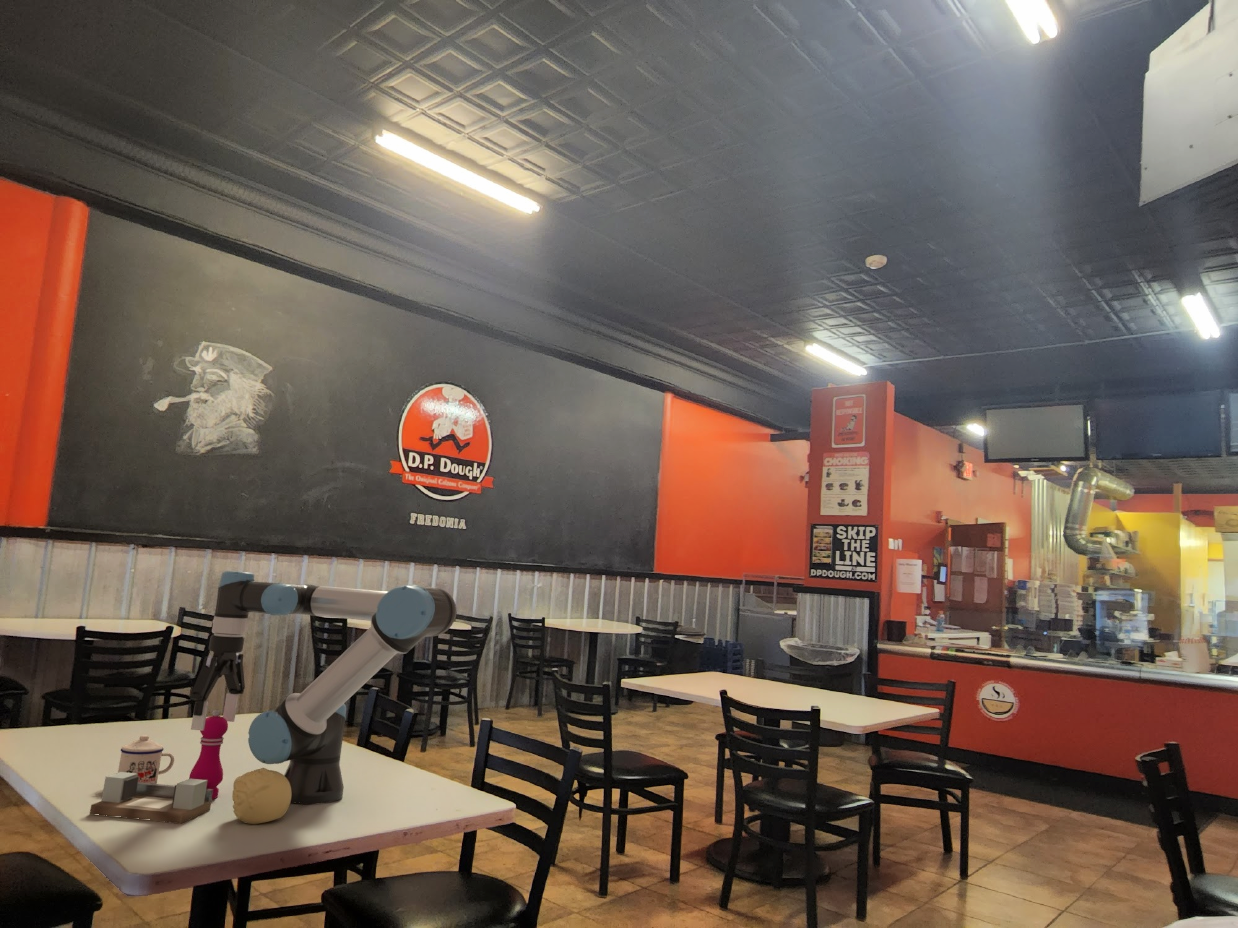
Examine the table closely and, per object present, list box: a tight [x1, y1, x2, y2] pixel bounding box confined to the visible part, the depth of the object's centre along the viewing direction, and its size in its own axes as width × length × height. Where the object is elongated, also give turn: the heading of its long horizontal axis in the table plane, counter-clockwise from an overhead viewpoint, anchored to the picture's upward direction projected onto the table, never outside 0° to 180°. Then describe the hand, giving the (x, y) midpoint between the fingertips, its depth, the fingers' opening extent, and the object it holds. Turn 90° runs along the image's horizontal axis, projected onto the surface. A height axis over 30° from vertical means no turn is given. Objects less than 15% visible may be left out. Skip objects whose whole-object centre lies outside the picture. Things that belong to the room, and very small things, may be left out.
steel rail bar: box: [136, 782, 213, 802], centre depth 180 cm, size 20×1×2 cm, turn 87°
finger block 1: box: [101, 772, 139, 803], centre depth 175 cm, size 5×5×5 cm
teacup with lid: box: [117, 734, 175, 784], centre depth 196 cm, size 12×9×12 cm
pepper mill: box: [188, 709, 229, 800], centre depth 190 cm, size 7×7×20 cm
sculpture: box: [231, 767, 292, 825], centre depth 176 cm, size 12×12×11 cm
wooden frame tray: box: [89, 795, 212, 824], centre depth 174 cm, size 20×11×2 cm, turn 87°
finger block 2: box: [172, 778, 207, 810], centre depth 174 cm, size 5×5×5 cm
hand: (213, 725), depth 191 cm, fingers open, 13 cm apart
